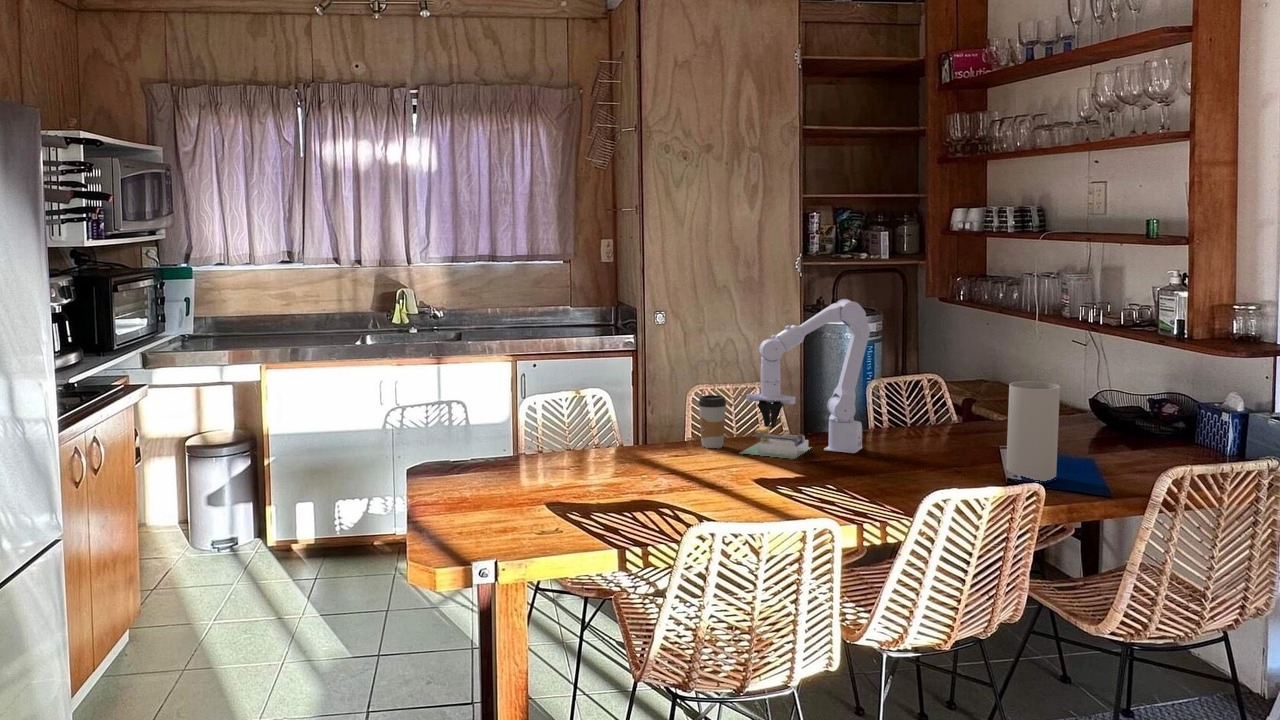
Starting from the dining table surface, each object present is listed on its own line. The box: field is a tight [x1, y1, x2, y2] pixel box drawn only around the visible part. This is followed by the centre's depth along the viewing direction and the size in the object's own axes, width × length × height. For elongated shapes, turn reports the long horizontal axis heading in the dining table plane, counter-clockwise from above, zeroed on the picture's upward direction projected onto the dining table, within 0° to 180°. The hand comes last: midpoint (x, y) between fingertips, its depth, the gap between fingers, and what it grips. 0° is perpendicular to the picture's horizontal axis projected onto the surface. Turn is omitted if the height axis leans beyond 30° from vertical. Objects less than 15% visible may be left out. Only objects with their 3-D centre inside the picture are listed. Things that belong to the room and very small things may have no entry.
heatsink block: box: [757, 433, 809, 458], centre depth 339 cm, size 12×10×5 cm
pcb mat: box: [738, 442, 814, 460], centre depth 341 cm, size 17×16×1 cm
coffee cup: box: [698, 394, 727, 449], centre depth 347 cm, size 8×8×15 cm
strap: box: [753, 432, 802, 442], centre depth 339 cm, size 14×3×1 cm, turn 63°
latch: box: [754, 425, 770, 442], centre depth 346 cm, size 2×5×6 cm, turn 153°
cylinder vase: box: [1005, 381, 1061, 483], centre depth 304 cm, size 12×12×25 cm
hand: (770, 426), depth 340 cm, fingers closed
